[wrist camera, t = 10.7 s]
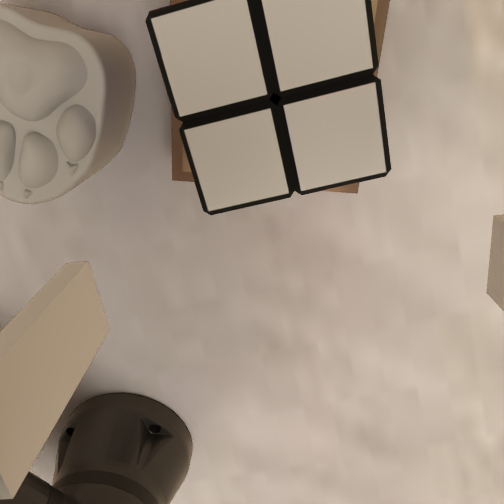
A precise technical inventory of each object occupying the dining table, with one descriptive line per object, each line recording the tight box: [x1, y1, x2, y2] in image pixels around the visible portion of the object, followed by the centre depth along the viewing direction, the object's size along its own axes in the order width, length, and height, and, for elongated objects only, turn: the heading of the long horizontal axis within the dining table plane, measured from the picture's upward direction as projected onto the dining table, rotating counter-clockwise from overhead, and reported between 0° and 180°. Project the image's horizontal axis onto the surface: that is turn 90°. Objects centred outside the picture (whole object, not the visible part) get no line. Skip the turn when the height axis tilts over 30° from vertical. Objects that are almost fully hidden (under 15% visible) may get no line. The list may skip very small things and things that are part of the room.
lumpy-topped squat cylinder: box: [0, 3, 136, 204], centre depth 33 cm, size 10×13×9 cm
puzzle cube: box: [146, 0, 391, 215], centre depth 25 cm, size 10×10×10 cm
